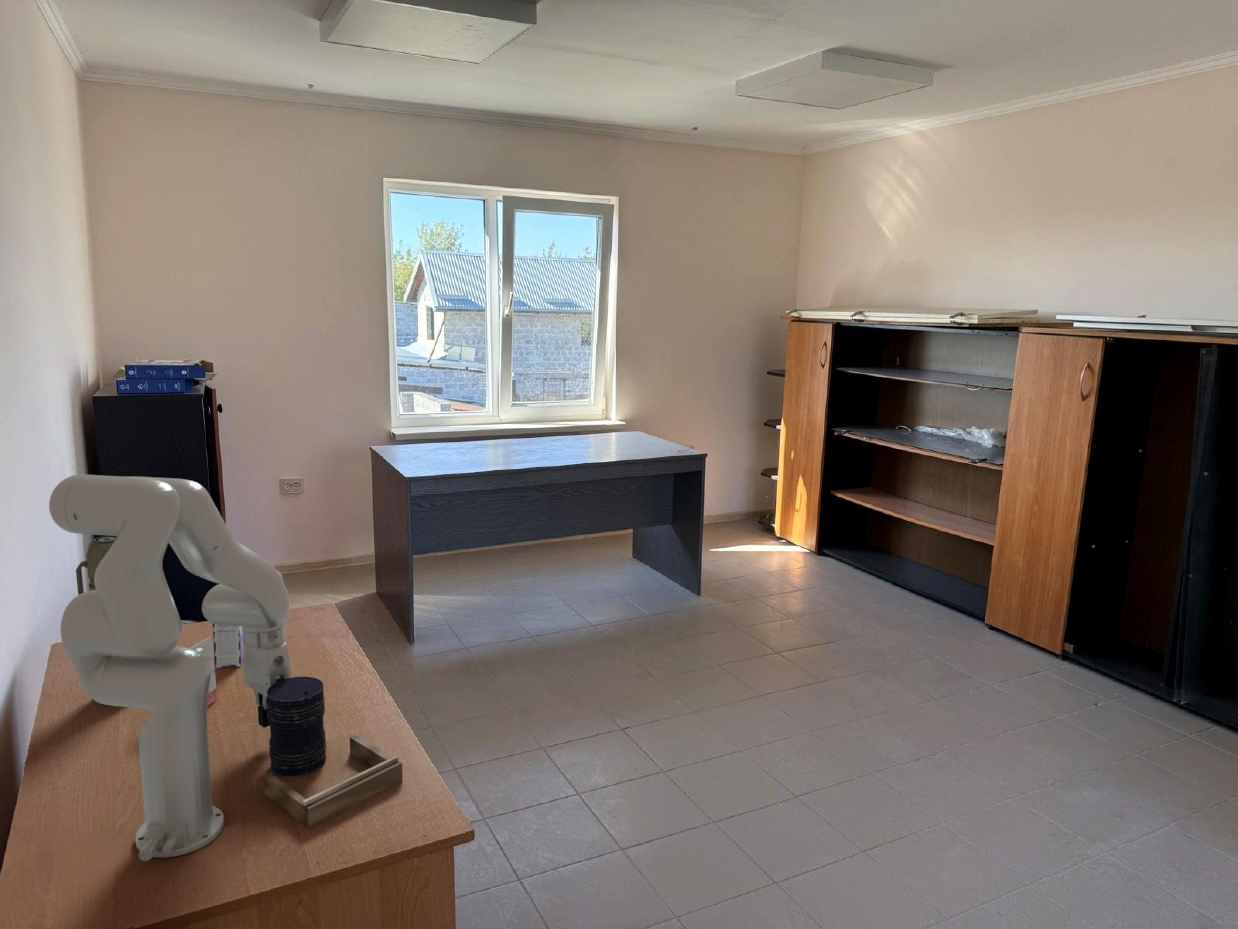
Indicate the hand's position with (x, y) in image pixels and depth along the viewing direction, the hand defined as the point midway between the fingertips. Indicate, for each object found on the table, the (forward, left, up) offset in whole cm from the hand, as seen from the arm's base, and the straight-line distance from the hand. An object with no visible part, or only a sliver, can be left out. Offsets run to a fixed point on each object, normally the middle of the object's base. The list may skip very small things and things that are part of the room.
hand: (268, 723), depth 158 cm
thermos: (+21, +37, -4) cm, 42 cm away
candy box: (+41, +21, -4) cm, 46 cm away
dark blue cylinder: (-7, -7, -4) cm, 11 cm away
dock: (-15, -15, -4) cm, 22 cm away
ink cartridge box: (+15, +20, -4) cm, 25 cm away
